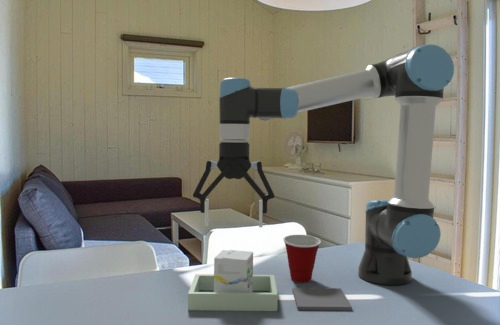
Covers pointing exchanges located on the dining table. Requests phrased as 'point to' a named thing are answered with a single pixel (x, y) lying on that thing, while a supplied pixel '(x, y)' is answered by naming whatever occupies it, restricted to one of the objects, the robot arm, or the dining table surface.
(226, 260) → the ink box
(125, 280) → the dining table surface
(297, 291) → the pad
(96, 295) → the dining table surface
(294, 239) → the plastic cup
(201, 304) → the bin
